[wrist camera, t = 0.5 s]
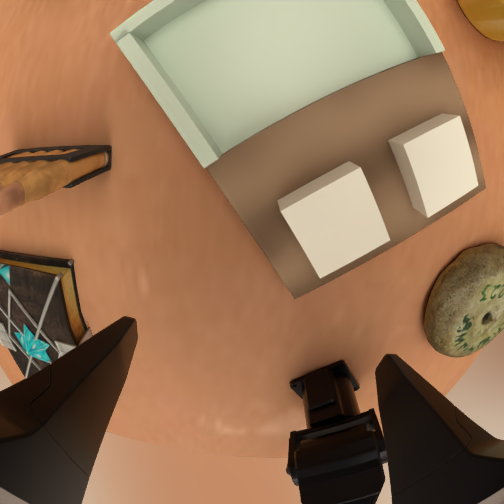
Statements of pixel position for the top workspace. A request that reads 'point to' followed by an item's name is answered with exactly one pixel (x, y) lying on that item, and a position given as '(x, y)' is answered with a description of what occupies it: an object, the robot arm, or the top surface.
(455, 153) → the tile
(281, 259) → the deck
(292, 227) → the tile
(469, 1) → the plant pot
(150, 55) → the tray
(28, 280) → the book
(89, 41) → the top surface
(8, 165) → the ammunition clip
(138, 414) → the top surface
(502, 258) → the weight
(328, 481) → the robot arm
